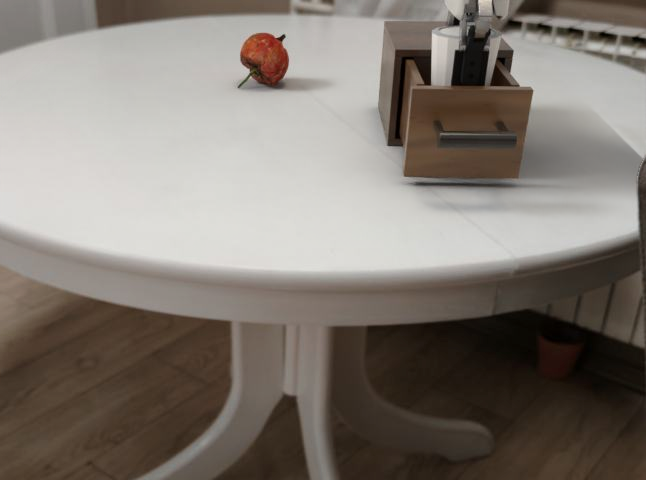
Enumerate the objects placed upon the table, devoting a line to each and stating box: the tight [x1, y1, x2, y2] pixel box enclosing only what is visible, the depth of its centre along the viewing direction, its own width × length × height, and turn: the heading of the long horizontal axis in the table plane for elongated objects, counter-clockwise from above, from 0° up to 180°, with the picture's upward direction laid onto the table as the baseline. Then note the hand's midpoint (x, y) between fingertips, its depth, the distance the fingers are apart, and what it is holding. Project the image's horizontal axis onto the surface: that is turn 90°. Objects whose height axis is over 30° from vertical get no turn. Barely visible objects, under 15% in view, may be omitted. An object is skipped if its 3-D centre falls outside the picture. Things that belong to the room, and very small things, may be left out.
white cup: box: [431, 25, 503, 86], centre depth 82 cm, size 7×7×7 cm
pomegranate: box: [237, 32, 290, 89], centre depth 113 cm, size 7×7×10 cm
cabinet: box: [377, 20, 515, 147], centre depth 96 cm, size 16×13×11 cm
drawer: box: [398, 57, 534, 180], centre depth 82 cm, size 20×11×9 cm, turn 177°
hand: (460, 81), depth 83 cm, fingers closed on white cup, 6 cm apart
